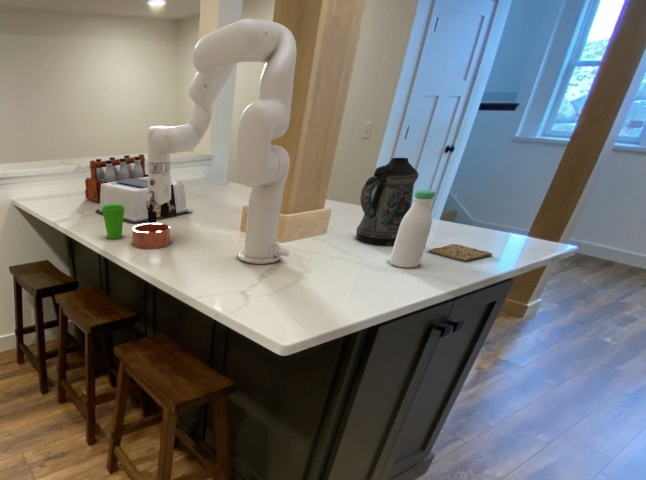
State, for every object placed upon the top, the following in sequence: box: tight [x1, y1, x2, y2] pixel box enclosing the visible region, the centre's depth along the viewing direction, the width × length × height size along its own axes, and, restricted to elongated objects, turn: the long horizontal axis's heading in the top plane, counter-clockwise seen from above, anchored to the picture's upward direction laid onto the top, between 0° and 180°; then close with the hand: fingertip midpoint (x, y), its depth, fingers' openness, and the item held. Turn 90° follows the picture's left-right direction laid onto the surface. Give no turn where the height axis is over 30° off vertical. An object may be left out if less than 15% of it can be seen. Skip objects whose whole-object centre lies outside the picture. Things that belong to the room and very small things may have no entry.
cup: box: [101, 204, 125, 240], centre depth 166 cm, size 9×9×11 cm
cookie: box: [428, 243, 493, 262], centre depth 136 cm, size 12×12×1 cm
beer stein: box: [355, 157, 420, 247], centre depth 145 cm, size 16×19×25 cm
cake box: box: [95, 177, 194, 224], centre depth 201 cm, size 35×33×12 cm
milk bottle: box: [389, 189, 436, 268], centre depth 125 cm, size 8×8×20 cm
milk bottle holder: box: [84, 153, 149, 203], centre depth 231 cm, size 21×35×19 cm, turn 126°
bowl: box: [131, 222, 171, 250], centre depth 159 cm, size 13×13×6 cm
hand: (158, 219), depth 161 cm, fingers open, 9 cm apart
